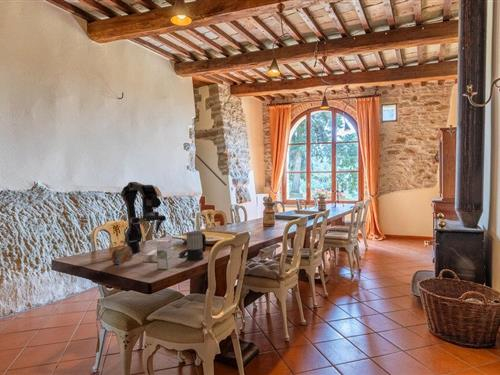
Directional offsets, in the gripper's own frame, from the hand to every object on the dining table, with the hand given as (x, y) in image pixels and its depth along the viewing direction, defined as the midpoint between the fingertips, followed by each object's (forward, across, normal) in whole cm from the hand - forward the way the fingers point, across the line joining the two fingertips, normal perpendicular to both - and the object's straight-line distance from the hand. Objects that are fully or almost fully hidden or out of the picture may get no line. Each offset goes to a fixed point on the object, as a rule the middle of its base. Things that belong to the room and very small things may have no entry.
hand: (148, 234), depth 199 cm
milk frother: (+14, +20, -14) cm, 28 cm away
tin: (+14, -15, -2) cm, 20 cm away
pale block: (+14, +6, -2) cm, 15 cm away
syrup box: (+14, +1, -28) cm, 31 cm away
